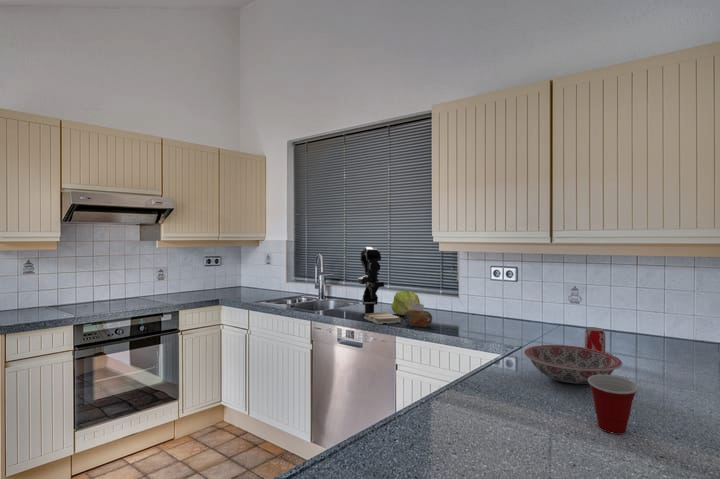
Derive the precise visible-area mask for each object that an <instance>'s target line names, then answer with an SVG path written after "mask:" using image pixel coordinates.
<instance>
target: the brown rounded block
mask: <svg viewBox="0 0 720 479" xmlns="http://www.w3.org/2000/svg"><path fill="white" fill-rule="evenodd" d="M403 316H404V317H403V318H404V319H403V320H404V322H405V323H406V325H407V326H409V325H410V327H418V326H419V327H421V328H426V327H429V326H431V324H432V322H433V317H432V314H431V312H429V311H427V310H424V311H419V310H409V311H407V312H406V313H405V315H403Z"/></svg>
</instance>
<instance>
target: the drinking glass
mask: <svg viewBox="0 0 720 479" xmlns="http://www.w3.org/2000/svg"><path fill="white" fill-rule="evenodd" d="M424 307H425V304H424V303H420V304H412V310H419V311H425V308H424Z"/></svg>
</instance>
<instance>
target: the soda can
mask: <svg viewBox="0 0 720 479" xmlns="http://www.w3.org/2000/svg"><path fill="white" fill-rule="evenodd" d="M584 348H588V349H593V350H598V351H602V352H605V353H606V333H605V331H604V328H600V327H593V326H590V327H586V330H585V331H584Z"/></svg>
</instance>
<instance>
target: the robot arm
mask: <svg viewBox="0 0 720 479" xmlns="http://www.w3.org/2000/svg"><path fill="white" fill-rule="evenodd" d="M359 259H360V262H361V265H362V267H363V268H364V275H363V276H360V277H358V278H357V279H358V283H359V285H365V289H364V291H363V294H362V299H361V301H362V302H361V304H362V305H363V306H364V312H362V314H363V315H364V316H365V314H368V313H375V305H378V302H379V301H378V300H379V297H378V294H377V292H378V290H379V288H383V287H384V288H385V282H384V281H381V280H379V275H380V272H379V271H380V269H381V264H380V263H379V262H381V261H382V255H381V251H380V250H379V249H378V248H373V246H365V247H364V248H363V250H362V251H361V252H360V258H359Z"/></svg>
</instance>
